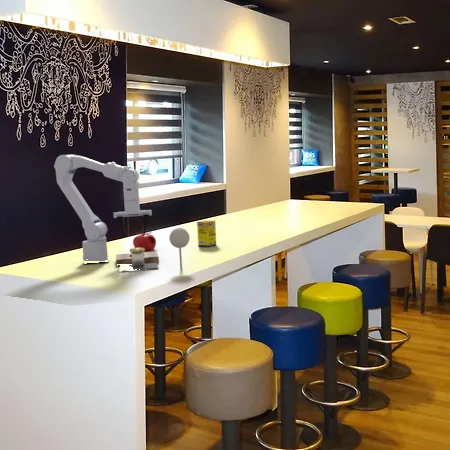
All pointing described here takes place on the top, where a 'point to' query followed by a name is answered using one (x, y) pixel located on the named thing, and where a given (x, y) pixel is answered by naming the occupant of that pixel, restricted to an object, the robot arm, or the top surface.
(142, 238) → the pomegranate
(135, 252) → the gold rounded piece
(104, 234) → the robot arm
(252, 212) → the top surface
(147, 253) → the housing
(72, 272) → the top surface
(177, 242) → the lollipop
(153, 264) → the mat
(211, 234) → the supplement box
